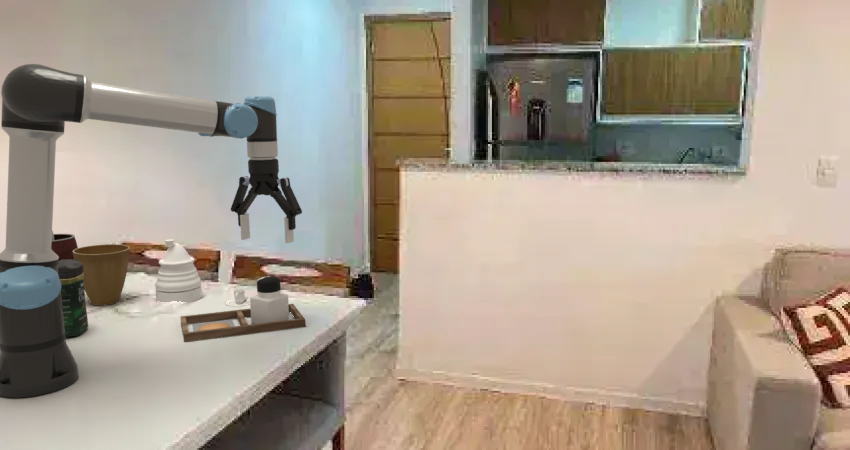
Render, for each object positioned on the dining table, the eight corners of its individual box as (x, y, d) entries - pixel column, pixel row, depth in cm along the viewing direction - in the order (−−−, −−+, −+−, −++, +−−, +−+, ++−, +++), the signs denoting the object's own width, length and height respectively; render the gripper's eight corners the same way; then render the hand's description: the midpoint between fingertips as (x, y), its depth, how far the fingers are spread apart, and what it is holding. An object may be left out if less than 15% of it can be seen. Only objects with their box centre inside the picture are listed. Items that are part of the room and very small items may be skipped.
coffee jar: (80, 338, 165) (73, 264, 162) (45, 340, 163) (37, 266, 160) (93, 326, 174) (86, 256, 171) (60, 327, 173) (53, 257, 170)
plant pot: (84, 312, 186) (79, 256, 183) (72, 301, 197) (67, 248, 194) (140, 302, 195) (136, 249, 192) (125, 292, 206) (121, 241, 204)
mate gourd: (83, 293, 206) (77, 229, 202) (31, 300, 198) (24, 233, 195) (78, 282, 219) (73, 222, 215) (29, 288, 211) (23, 226, 208)
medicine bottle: (289, 320, 178) (288, 276, 176) (270, 327, 172) (268, 282, 170) (270, 316, 182) (268, 273, 180) (250, 323, 176) (248, 279, 174)
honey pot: (174, 306, 191) (170, 245, 188) (147, 300, 198) (142, 240, 195) (211, 296, 202) (207, 237, 199) (183, 290, 209) (179, 233, 206)
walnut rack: (305, 326, 173) (305, 319, 172) (184, 342, 162) (183, 334, 161) (293, 310, 187) (293, 303, 186) (180, 323, 176) (180, 316, 175)
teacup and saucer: (239, 298, 201) (238, 285, 200) (260, 300, 198) (260, 287, 197) (219, 305, 193) (218, 292, 192) (241, 308, 190) (241, 295, 189)
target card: (236, 332, 169) (236, 330, 169) (195, 337, 165) (195, 335, 165) (232, 320, 178) (232, 319, 178) (192, 325, 174) (192, 323, 174)
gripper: (313, 158, 168) (316, 240, 172) (232, 156, 178) (237, 234, 181) (296, 160, 161) (300, 246, 165) (213, 158, 171) (218, 240, 175)
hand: (267, 240), depth 173 cm, fingers open, 13 cm apart
